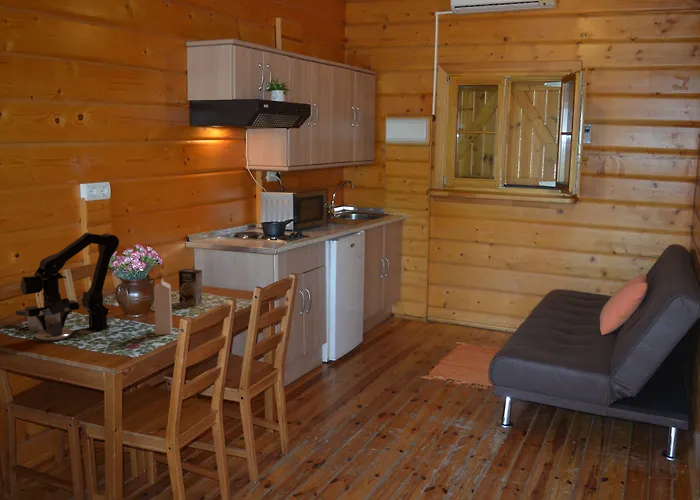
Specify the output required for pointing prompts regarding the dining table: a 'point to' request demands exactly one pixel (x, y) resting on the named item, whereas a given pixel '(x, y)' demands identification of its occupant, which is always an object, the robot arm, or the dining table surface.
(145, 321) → the dining table surface
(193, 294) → the coffee box
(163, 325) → the milk
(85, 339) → the dining table surface
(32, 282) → the robot arm
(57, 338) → the cup and saucer
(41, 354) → the dining table surface
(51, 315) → the pot
